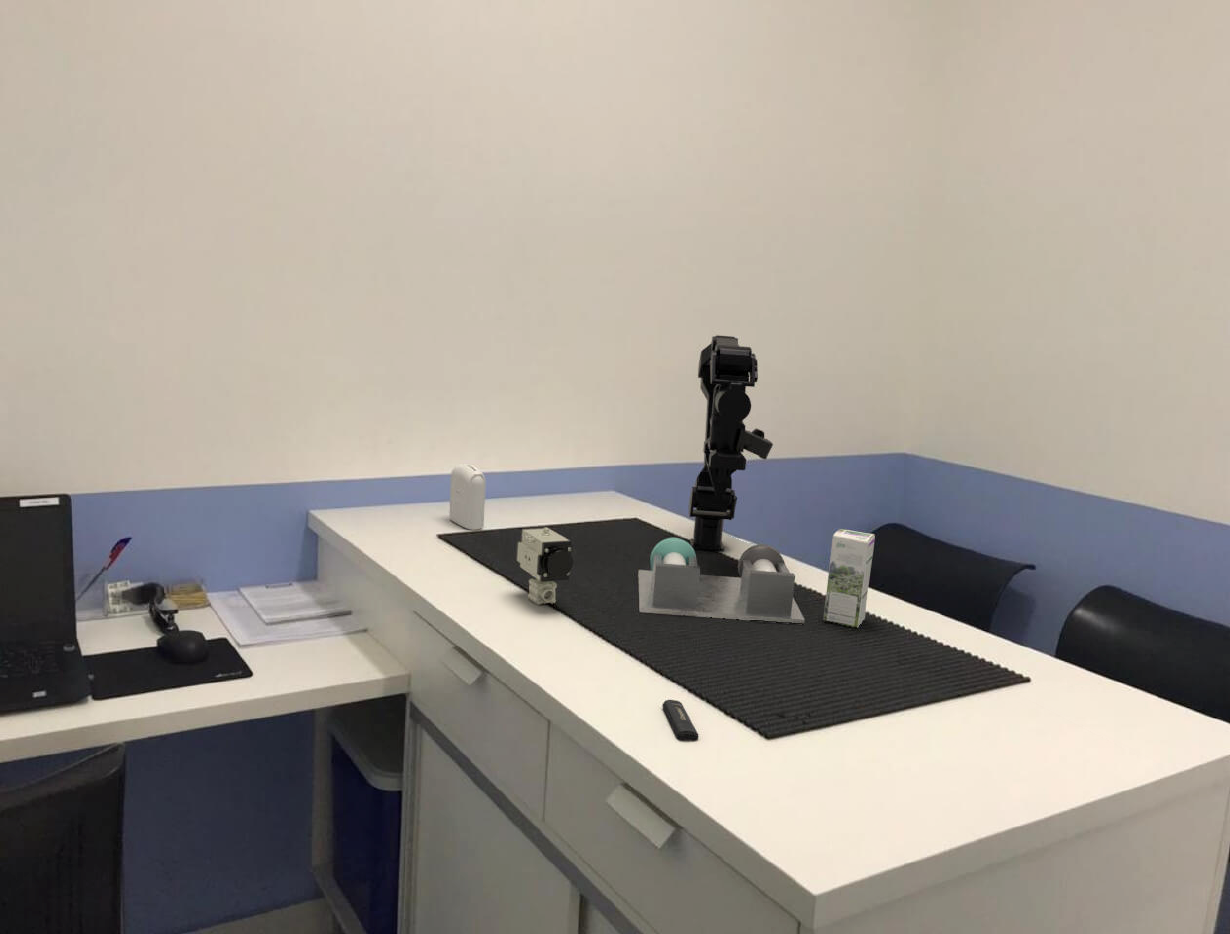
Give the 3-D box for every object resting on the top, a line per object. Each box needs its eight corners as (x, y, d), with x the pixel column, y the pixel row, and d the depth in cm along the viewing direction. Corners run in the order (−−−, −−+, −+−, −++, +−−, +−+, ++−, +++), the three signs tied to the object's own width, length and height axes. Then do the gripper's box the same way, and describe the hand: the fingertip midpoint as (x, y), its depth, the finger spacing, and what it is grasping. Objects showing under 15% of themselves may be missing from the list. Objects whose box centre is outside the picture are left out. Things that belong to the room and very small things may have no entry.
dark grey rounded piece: (736, 586, 177) (740, 542, 175) (781, 590, 177) (786, 546, 175) (743, 607, 166) (748, 560, 164) (791, 611, 166) (796, 564, 164)
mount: (638, 574, 184) (641, 533, 183) (784, 585, 184) (788, 545, 183) (639, 612, 163) (643, 566, 161) (804, 624, 163) (809, 579, 161)
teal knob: (648, 580, 177) (652, 535, 175) (694, 583, 177) (698, 539, 175) (649, 600, 166) (653, 553, 164) (698, 603, 166) (702, 556, 164)
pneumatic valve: (539, 589, 171) (544, 518, 168) (570, 611, 161) (576, 536, 158) (508, 592, 168) (512, 520, 166) (538, 614, 158) (543, 538, 156)
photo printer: (446, 519, 214) (449, 460, 211) (465, 518, 216) (468, 460, 214) (466, 531, 205) (469, 470, 203) (486, 530, 207) (489, 469, 205)
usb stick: (699, 744, 118) (700, 731, 118) (676, 744, 118) (678, 731, 117) (681, 709, 127) (682, 698, 127) (660, 709, 127) (661, 697, 127)
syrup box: (865, 619, 168) (876, 533, 165) (857, 629, 162) (868, 540, 160) (830, 612, 170) (840, 527, 167) (822, 622, 165) (832, 534, 162)
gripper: (779, 425, 178) (770, 514, 180) (765, 412, 196) (757, 492, 199) (714, 420, 178) (706, 509, 180) (706, 408, 196) (699, 488, 199)
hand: (719, 499), depth 189 cm, fingers closed
